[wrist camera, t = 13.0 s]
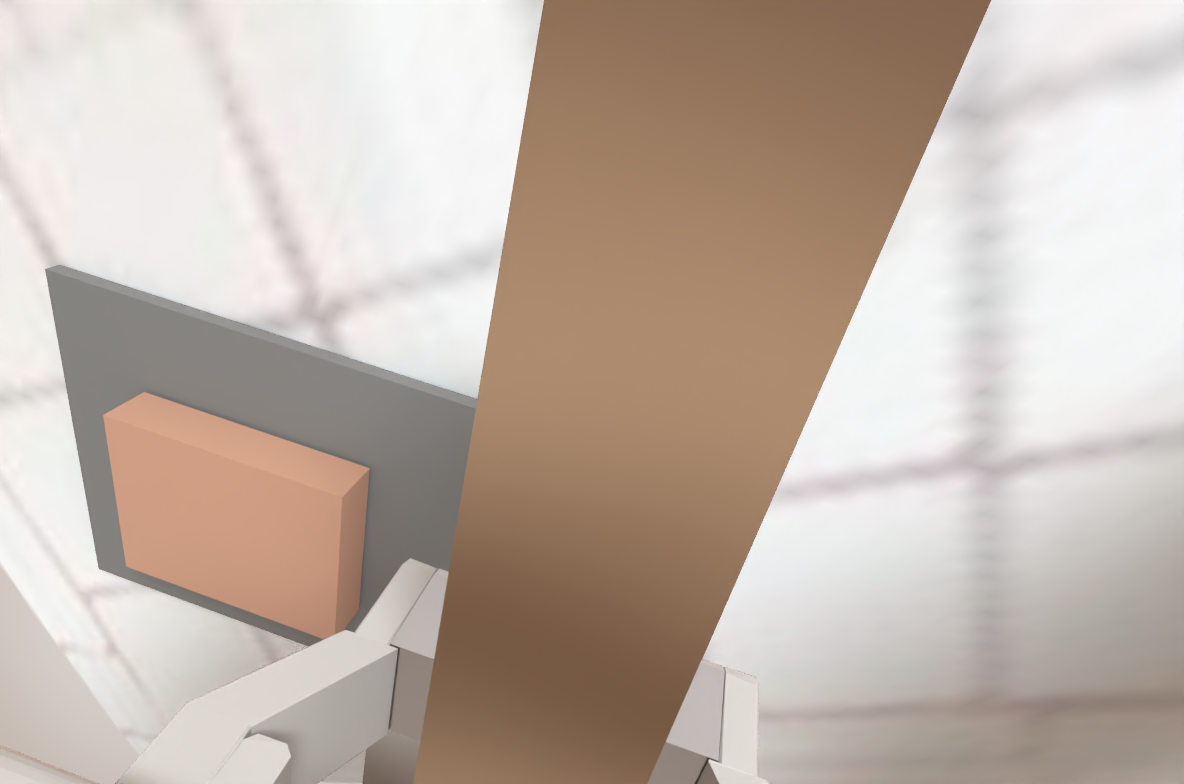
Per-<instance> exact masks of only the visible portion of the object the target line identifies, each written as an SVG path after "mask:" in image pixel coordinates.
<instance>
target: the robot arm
mask: <svg viewBox="0 0 1184 784" xmlns="http://www.w3.org/2000/svg"><path fill="white" fill-rule="evenodd" d="M448 573H449V572H448V571H445V570H442V569H438V568H435V567H433V566H430V565H427V564H424V563H422V562H419V561H416V560H414V559H411V558H410V559H409V560H407V561H406V562H405V563H403V564H402V565H401V567H400V568H399V570H398V571H397V573H396V574H395V575H394V577H393V578H392V580H391V581H390V583H389V584H388V585H387V587H386V588H385V590H384V591H383V592H382V594H381V595H380V597H379V598H378V600H377V601H376V602H375V604H374V605H373V607H372V608H371V609H370V611H369V612H368V614H367V615H366V617H365V618H364V619H363V621H362V622H361V624H360V625H359V626H358V628H357V629H356V631H355V632H351V631H348V630H343V631H341V632H339V633H337V634H335V635H333V636H330V637H328V638H326V639H324V640H322V641H320V642H317V643H315V644H313V645H311V646H309V647H307V648H304V649H302V650H300V651H298V652H296V653H294V654H291V655H289V656H287V657H285V658H283V659H281V660H278V661H276V662H274V663H272V664H270V665H268V666H265V667H263V668H261V669H259V670H257V671H255V672H252V673H250V674H248V675H246V676H244V677H242V678H239V679H237V680H235V681H233V682H231V683H229V684H226V685H224V686H222V687H220V688H218V689H216V690H213V691H211V692H209V693H207V694H205V695H203V696H200V697H198V698H196V699H194V700H192V701H190V702H187V703H186V704H185V705H184V707H183V708H182V709H181V710H180V711H179V712H178V713H177V714H176V716H175V717H174V718H173V719H172V720H171V721H170V722H169V723H168V725H167V726H166V727H165V728H164V729H163V730H162V731H161V732H160V734H159V735H158V736H157V737H156V738H155V739H154V740H153V742H152V743H151V744H150V745H149V746H148V747H147V748H146V749H145V751H144V752H143V753H142V754H141V755H140V756H139V757H138V758H137V760H136V761H135V762H134V763H133V764H132V765H131V766H130V767H129V769H128V770H127V771H126V772H125V773H124V774H123V775H122V776H121V778H120V779H119V780H118V781H117V782H116V783H115V784H317V783H319V782H320V781H321V780H323V779H324V778H326V777H327V776H329V775H330V774H331V773H333V772H334V771H336V770H337V769H338V768H340V767H341V766H343V765H344V764H346V763H347V762H348V761H350V760H351V759H353V758H354V757H355V756H357V755H358V754H360V753H361V752H362V751H364V750H365V749H367V748H368V747H370V746H371V745H372V744H374V743H375V742H377V741H378V740H379V739H381V738H382V737H384V736H385V735H387V733H388V730H390V731H393V732H396V733H399V734H401V735H404V736H407V737H410V738H413V739H416V740H419V741H421V735H422V729H423V723H424V717H425V711H426V705H427V699H428V693H429V687H430V681H431V675H432V669H433V663H434V657H435V651H436V645H437V639H438V633H439V627H440V621H441V615H442V609H443V603H444V597H445V591H446V585H447V579H448ZM758 699H759V683H758V681H757V679H756V677H754V676H751V675H748V674H745V673H742V672H739V671H736V670H733V669H730V668H727V667H722V666H721V665H718V664H715V663H712V662H709V661H706V660H703V659H702V660H701V662H700V665H699V667H698V669H697V671H696V674H695V676H694V678H693V681H692V683H691V685H690V687H689V690H688V692H687V694H686V697H685V699H684V701H683V703H682V706H681V708H680V710H679V712H678V715H677V717H676V719H675V722H674V724H673V726H672V728H671V731H670V733H669V735H668V738H667V740H666V742H665V744H664V747H663V749H662V751H661V753H660V756H659V758H658V760H657V763H656V765H655V767H654V769H653V772H652V774H651V776H650V779H649V781H648V783H647V784H769V782H768V781H767V780H765V779H762V778H760V777H758ZM0 784H98V783H95V782H93V781H90V780H88V779H85V778H83V777H80V776H78V775H75V774H73V773H70V772H68V771H65V770H63V769H60V768H57V767H55V766H52V765H50V764H47V763H45V762H42V761H40V760H37V759H35V758H32V757H30V756H27V755H24V754H22V753H20V752H17V751H14V750H12V749H9V748H7V747H4V746H2V745H0Z"/></svg>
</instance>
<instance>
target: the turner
mask: <svg viewBox="0 0 1184 784" xmlns="http://www.w3.org/2000/svg"><path fill="white" fill-rule="evenodd" d="M990 2H991V0H544V4H543V10H542V16H541V22H540V28H539V34H538V40H537V46H536V52H535V58H534V64H533V70H532V76H531V82H530V88H529V94H528V100H527V106H526V112H525V118H524V124H523V130H522V136H521V142H520V148H519V154H518V160H517V166H516V172H515V178H514V184H513V190H512V196H511V202H510V208H509V214H508V220H507V226H506V232H505V238H504V244H503V250H502V256H501V262H500V268H499V274H498V280H497V286H496V292H495V298H494V304H493V310H492V316H491V322H490V328H489V334H488V340H487V346H486V352H485V358H484V364H483V370H482V376H481V382H480V388H479V394H478V399H477V405H476V411H475V417H474V423H473V429H472V435H471V441H470V447H469V453H468V459H467V465H466V471H465V477H464V483H463V489H462V495H461V501H460V507H459V513H458V519H457V525H456V531H455V537H454V543H453V549H452V555H451V561H450V567H449V573H448V579H447V585H446V591H445V597H444V603H443V609H442V615H441V621H440V627H439V633H438V639H437V645H436V651H435V657H434V663H433V669H432V675H431V681H430V687H429V693H428V699H427V705H426V711H425V717H424V723H423V729H422V735H421V741H419V740H416V739H413V738H410V737H407V736H404V735H401V734H399V733H396V732H393V731H390V730H388V733H387V735H385V736H384V737H382V738H381V739H379V740H378V741H377V742H375V743H374V744H372V745H371V746H370V747H368V748H367V749H366V757H365V767H364V776H363V784H647V783H648V781H649V779H650V776H651V774H652V772H653V769H654V767H655V765H656V763H657V760H658V758H659V756H660V753H661V751H662V749H663V747H664V744H665V742H666V740H667V738H668V735H669V733H670V731H671V728H672V726H673V724H674V722H675V719H676V717H677V715H678V712H679V710H680V708H681V706H682V703H683V701H684V699H685V697H686V694H687V692H688V690H689V687H690V685H691V683H692V681H693V678H694V676H695V674H696V671H697V669H698V667H699V665H700V662H701V660H702V658H703V656H704V653H705V651H706V649H707V646H708V644H709V642H710V640H711V637H712V635H713V633H714V630H715V628H716V626H717V624H718V621H719V619H720V617H721V614H722V612H723V610H724V608H725V605H726V603H727V601H728V599H729V596H730V594H731V592H732V589H733V587H734V585H735V583H736V580H737V578H738V576H739V573H740V571H741V569H742V567H743V564H744V562H745V560H746V558H747V555H748V553H749V551H750V548H751V546H752V544H753V542H754V539H755V537H756V535H757V532H758V530H759V528H760V526H761V523H762V521H763V519H764V516H765V514H766V512H767V510H768V507H769V505H770V503H771V501H772V498H773V496H774V494H775V491H776V489H777V487H778V485H779V482H780V480H781V478H782V475H783V473H784V471H785V469H786V466H787V464H788V462H789V460H790V457H791V455H792V453H793V450H794V448H795V446H796V444H797V441H798V439H799V437H800V434H801V432H802V430H803V428H804V425H805V423H806V421H807V419H808V416H809V414H810V412H811V409H812V407H813V405H814V403H815V400H816V398H817V396H818V393H819V391H820V389H821V387H822V384H823V382H824V380H825V377H826V375H827V373H828V371H829V368H830V366H831V364H832V362H833V359H834V357H835V355H836V352H837V350H838V348H839V346H840V343H841V341H842V339H843V336H844V334H845V332H846V330H847V327H848V325H849V323H850V321H851V318H852V316H853V314H854V311H855V309H856V307H857V305H858V302H859V300H860V298H861V295H862V293H863V291H864V289H865V286H866V284H867V282H868V280H869V277H870V275H871V273H872V270H873V268H874V266H875V264H876V261H877V259H878V257H879V254H880V252H881V250H882V248H883V245H884V243H885V241H886V238H887V236H888V234H889V232H890V229H891V227H892V225H893V223H894V220H895V218H896V216H897V213H898V211H899V209H900V207H901V204H902V202H903V200H904V197H905V195H906V193H907V191H908V188H909V186H910V184H911V182H912V179H913V177H914V175H915V172H916V170H917V168H918V166H919V163H920V161H921V159H922V156H923V154H924V152H925V150H926V147H927V145H928V143H929V141H930V138H931V136H932V134H933V131H934V129H935V127H936V125H937V122H938V120H939V118H940V115H941V113H942V111H943V109H944V106H945V104H946V102H947V99H948V97H949V95H950V93H951V90H952V88H953V86H954V84H955V81H956V79H957V77H958V74H959V72H960V70H961V68H962V65H963V63H964V61H965V58H966V56H967V54H968V52H969V49H970V47H971V45H972V43H973V40H974V38H975V36H976V33H977V31H978V29H979V27H980V24H981V22H982V20H983V17H984V15H985V13H986V11H987V8H988V6H989V4H990Z"/></svg>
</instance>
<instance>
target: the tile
mask: <svg viewBox="0 0 1184 784" xmlns="http://www.w3.org/2000/svg"><path fill="white" fill-rule="evenodd" d="M103 418H104V424H105V431H106V437H107V444H108V450H109V457H110V464H111V470H112V477H113V483H114V490H115V496H116V503H117V510H118V516H119V523H120V529H121V536H122V542H123V549H124V556H125V562H126V567H129V568H131V569H134V570H137V571H140V572H142V573H145V574H148V575H150V576H153V577H156V578H159V579H161V580H164V581H167V582H170V583H172V584H175V585H178V586H180V587H183V588H186V589H189V590H191V591H194V592H197V593H199V594H202V595H205V596H208V597H210V598H213V599H216V600H219V601H221V602H224V603H227V604H229V605H232V606H235V607H238V608H240V609H243V610H246V611H249V612H251V613H254V614H257V615H259V616H262V617H265V618H268V619H270V620H273V621H276V622H278V623H281V624H284V625H287V626H289V627H292V628H295V629H298V630H300V631H303V632H306V633H308V634H311V635H314V636H317V637H319V638H322V639H326V638H328V637H330V636H333V635H335V634H337V633H339V632H341V631H343V630H344V629H345V628H346V627H347V625H348V624H349V622H350V621H351V620H352V618H353V617H354V616H355V614H356V613H357V611H358V610H359V602H360V589H361V576H362V563H363V550H364V537H365V524H366V511H367V498H368V485H369V472H370V468H368V467H365V466H362V465H359V464H356V463H353V462H350V461H347V460H344V459H341V458H338V457H335V456H332V455H329V454H326V453H323V452H320V451H317V450H314V449H312V448H309V447H306V446H303V445H300V444H297V443H294V442H291V441H288V440H285V439H282V438H279V437H276V436H273V435H270V434H267V433H264V432H261V431H258V430H255V429H252V428H249V427H246V426H244V425H241V424H238V423H235V422H232V421H229V420H226V419H223V418H220V417H217V416H214V415H211V414H208V413H205V412H202V411H199V410H196V409H193V408H190V407H187V406H184V405H181V404H178V403H176V402H173V401H170V400H167V399H164V398H161V397H158V396H155V395H152V394H149V393H146V392H143V393H142V394H140V395H138V396H136V397H134V398H133V399H131V400H129V401H127V402H126V403H124V404H122V405H120V406H118V407H117V408H115V409H113V410H111V411H109V412H108V413H106V414H104V415H103Z"/></svg>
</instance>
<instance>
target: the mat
mask: <svg viewBox="0 0 1184 784" xmlns="http://www.w3.org/2000/svg"><path fill="white" fill-rule="evenodd" d="M45 271H46V276H47V282H48V287H49V293H50V299H51V304H52V310H53V315H54V321H55V326H56V332H57V338H58V343H59V349H60V354H61V360H62V366H63V371H64V377H65V382H66V388H67V393H68V399H69V405H70V410H71V416H72V421H73V427H74V433H75V438H76V444H77V449H78V455H79V461H80V466H81V472H82V477H83V483H84V488H85V494H86V500H87V505H88V511H89V516H90V522H91V528H92V533H93V539H94V544H95V550H96V555H97V561H98V567H99V569H101V570H104V571H106V572H109V573H112V574H115V575H117V576H120V577H123V578H125V579H128V580H131V581H134V582H136V583H139V584H142V585H144V586H147V587H150V588H152V589H155V590H158V591H161V592H163V593H166V594H169V595H171V596H174V597H177V598H180V599H182V600H185V601H188V602H190V603H193V604H196V605H199V606H201V607H204V608H207V609H209V610H212V611H215V612H217V613H220V614H223V615H226V616H228V617H231V618H234V619H236V620H239V621H242V622H245V623H247V624H250V625H253V626H255V627H258V628H261V629H264V630H266V631H269V632H272V633H274V634H277V635H280V636H282V637H285V638H288V639H291V640H293V641H296V642H299V643H301V644H304V645H307V646H311V645H313V644H315V643H317V642H320V641H322V640H324V639H322V638H319V637H317V636H314V635H311V634H308V633H306V632H303V631H300V630H298V629H295V628H292V627H289V626H287V625H284V624H281V623H278V622H276V621H273V620H270V619H268V618H265V617H262V616H259V615H257V614H254V613H251V612H249V611H246V610H243V609H240V608H238V607H235V606H232V605H229V604H227V603H224V602H221V601H219V600H216V599H213V598H210V597H208V596H205V595H202V594H199V593H197V592H194V591H191V590H189V589H186V588H183V587H180V586H178V585H175V584H172V583H170V582H167V581H164V580H161V579H159V578H156V577H153V576H150V575H148V574H145V573H142V572H140V571H137V570H134V569H131V568H129V567H126V562H125V556H124V549H123V542H122V536H121V529H120V523H119V516H118V510H117V503H116V496H115V490H114V483H113V477H112V470H111V464H110V457H109V450H108V444H107V437H106V431H105V424H104V418H103V415H104V414H106V413H108V412H109V411H111V410H113V409H115V408H117V407H118V406H120V405H122V404H124V403H126V402H127V401H129V400H131V399H133V398H134V397H136V396H138V395H140V394H142V393H143V392H146V393H149V394H152V395H155V396H158V397H161V398H164V399H167V400H170V401H173V402H176V403H178V404H181V405H184V406H187V407H190V408H193V409H196V410H199V411H202V412H205V413H208V414H211V415H214V416H217V417H220V418H223V419H226V420H229V421H232V422H235V423H238V424H241V425H244V426H246V427H249V428H252V429H255V430H258V431H261V432H264V433H267V434H270V435H273V436H276V437H279V438H282V439H285V440H288V441H291V442H294V443H297V444H300V445H303V446H306V447H309V448H312V449H314V450H317V451H320V452H323V453H326V454H329V455H332V456H335V457H338V458H341V459H344V460H347V461H350V462H353V463H356V464H359V465H362V466H365V467H368V468H370V472H369V485H368V498H367V511H366V524H365V537H364V550H363V563H362V576H361V589H360V602H359V610H358V611H357V613H356V614H355V616H354V617H353V618H352V620H351V621H350V622H349V624H348V625H347V627H346V628H345V629H344V630H348V631H351V632H355V631H356V629H357V628H358V626H359V625H360V624H361V622H362V621H363V619H364V618H365V617H366V615H367V614H368V612H369V611H370V609H371V608H372V607H373V605H374V604H375V602H376V601H377V600H378V598H379V597H380V595H381V594H382V592H383V591H384V590H385V588H386V587H387V585H388V584H389V583H390V581H391V580H392V578H393V577H394V575H395V574H396V573H397V571H398V570H399V568H400V567H401V565H402V564H403V563H405V562H406V561H407V560H409V559H410V558H411V559H414V560H416V561H419V562H422V563H424V564H427V565H430V566H433V567H435V568H438V569H442V570H445V571H448V572H449V567H450V561H451V555H452V549H453V543H454V537H455V531H456V525H457V519H458V513H459V507H460V501H461V495H462V489H463V483H464V477H465V471H466V465H467V459H468V453H469V447H470V441H471V435H472V429H473V423H474V417H475V411H476V405H477V399H474V398H471V397H468V396H465V395H462V394H458V393H455V392H452V391H449V390H446V389H443V388H440V387H437V386H434V385H431V384H427V383H424V382H421V381H418V380H415V379H412V378H409V377H406V376H403V375H400V374H396V373H393V372H390V371H387V370H384V369H381V368H378V367H375V366H372V365H368V364H365V363H362V362H359V361H356V360H353V359H350V358H347V357H344V356H341V355H337V354H334V353H331V352H328V351H325V350H322V349H319V348H316V347H313V346H310V345H306V344H303V343H300V342H297V341H294V340H291V339H288V338H285V337H282V336H278V335H275V334H272V333H269V332H266V331H263V330H260V329H257V328H254V327H251V326H247V325H244V324H241V323H238V322H235V321H232V320H229V319H226V318H223V317H220V316H216V315H213V314H210V313H207V312H204V311H201V310H198V309H195V308H192V307H189V306H185V305H182V304H179V303H176V302H173V301H170V300H167V299H164V298H161V297H157V296H154V295H151V294H148V293H145V292H142V291H139V290H136V289H133V288H130V287H126V286H123V285H120V284H117V283H114V282H111V281H108V280H105V279H102V278H99V277H95V276H92V275H89V274H86V273H83V272H80V271H77V270H74V269H71V268H67V267H64V266H61V265H57V266H54V267H51V268H47V269H45Z"/></svg>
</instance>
